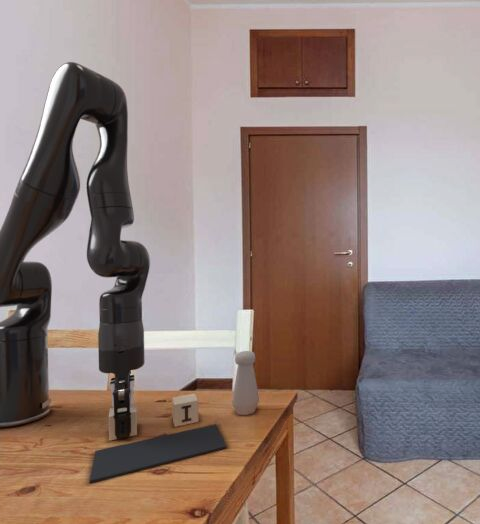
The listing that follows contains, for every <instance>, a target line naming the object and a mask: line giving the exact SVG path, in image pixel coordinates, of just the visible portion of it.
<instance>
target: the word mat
mask: <svg viewBox="0 0 480 524" xmlns="http://www.w3.org/2000/svg"><path fill="white" fill-rule="evenodd" d="M223 449H227V445H226V442H225V440H224V438H223V435H222V434H221V432H220V430H219V428H218V426H217V423H215V424H210V425H206V426H205V425H204V426H201V427H197V428H192V429H188V430H183V431H179V432H175V433H170V434H165V435H160V436H156V437H152V438H147V439H143V440H139V441H133V442H129V443H125V444H119V445H116V446H111V447H107V448H102V449H98V450H97V449H96V450H95V452H94V457H93V461H92V466H91V471H90V475H89V480H88V481H89V482H88V483H89V484H92V483H96V482H99V481H100V482H101V481H103V480H107V479H111V478H115V477H119V476H123V475H127V474H130V473H135V472H139V471H142V470H146V469H151V468H154V467H158V466H162V465H166V464H170V463H173V462H177V461H181V460H185V459H189V458H193V457H198V456H201V455H205V454H209V453H213V452H217V451H220V450H223Z"/></svg>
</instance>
